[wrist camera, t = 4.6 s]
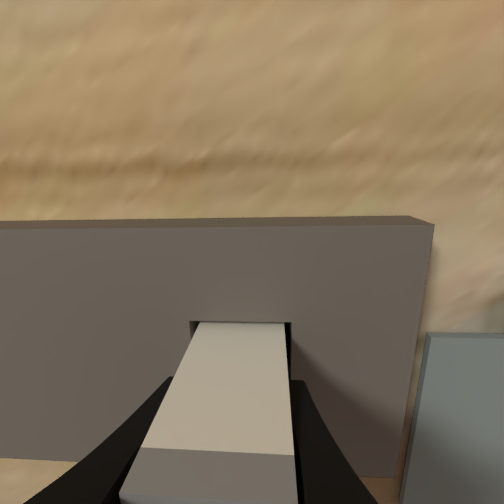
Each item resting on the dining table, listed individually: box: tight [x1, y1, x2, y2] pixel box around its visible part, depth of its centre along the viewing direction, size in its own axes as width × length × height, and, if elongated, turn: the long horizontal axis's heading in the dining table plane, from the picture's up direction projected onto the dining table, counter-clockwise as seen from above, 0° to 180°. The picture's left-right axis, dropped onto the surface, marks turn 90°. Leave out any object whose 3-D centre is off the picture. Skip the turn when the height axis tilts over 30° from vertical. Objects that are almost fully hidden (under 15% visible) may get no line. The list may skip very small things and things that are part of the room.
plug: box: [119, 321, 298, 504], centre depth 10 cm, size 4×4×7 cm
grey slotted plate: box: [0, 216, 435, 478], centre depth 13 cm, size 20×12×2 cm, turn 91°
